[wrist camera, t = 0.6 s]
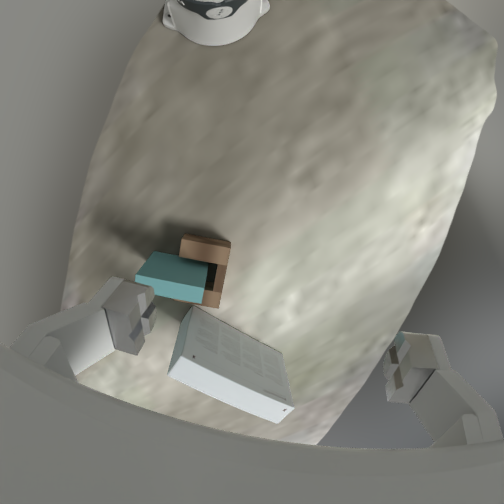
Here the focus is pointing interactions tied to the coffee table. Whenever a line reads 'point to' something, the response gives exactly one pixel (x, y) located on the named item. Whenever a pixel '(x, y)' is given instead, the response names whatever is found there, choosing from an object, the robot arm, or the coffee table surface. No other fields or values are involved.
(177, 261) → the teal rectangular block
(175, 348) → the skincare box
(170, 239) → the coffee table surface
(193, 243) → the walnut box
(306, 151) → the coffee table surface
